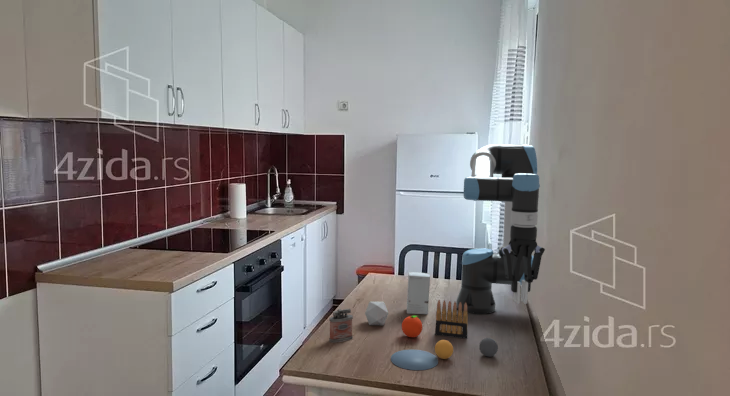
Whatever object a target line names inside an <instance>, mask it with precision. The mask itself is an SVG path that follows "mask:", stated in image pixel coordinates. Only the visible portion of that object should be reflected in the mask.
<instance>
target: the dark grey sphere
mask: <svg viewBox="0 0 730 396" xmlns="http://www.w3.org/2000/svg"><path fill="white" fill-rule="evenodd" d="M478 348H479V352H480V353H481V354H482V355H483V356H485V357H488V358H491V357H494V356H495V355H496V354H497V353H498V351H499V350H498V349H499V346H498V343H497V341H496V340H495V339H493V338H491V337H484V338H483V339H481V340H480V342H479V347H478Z"/></svg>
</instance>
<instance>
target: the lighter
mask: <svg viewBox="0 0 730 396" xmlns="http://www.w3.org/2000/svg"><path fill="white" fill-rule="evenodd" d="M332 315H333V316H331V317H329V338H328V339H329V340H328V341H329V343H341V342H346V341H350V340H353V319H354V315H353V314H351V308H344V309H341V308H339V309H336V310H334V311H332Z"/></svg>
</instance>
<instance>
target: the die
mask: <svg viewBox="0 0 730 396" xmlns="http://www.w3.org/2000/svg"><path fill="white" fill-rule="evenodd" d="M364 312H365V313H364V315H365V317H366V320H367V322H368V326H385V322H386V320H387V318H388V315H389V311H388V309H387V306H386V303H385V302H384V301H369V302H368V305H367V307H366V310H365V311H364Z"/></svg>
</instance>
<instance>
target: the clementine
mask: <svg viewBox="0 0 730 396" xmlns="http://www.w3.org/2000/svg"><path fill="white" fill-rule="evenodd" d="M420 318H421V317H420V316H418V315H409V316H407V317H405V318H404V319H403V320H402V323H401V331H402V333H403V334H404V335H405V336H406V337H408V338H416V337H418V336H420V334H421V333H422V331H423V322H422V320H421V319H420Z"/></svg>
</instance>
